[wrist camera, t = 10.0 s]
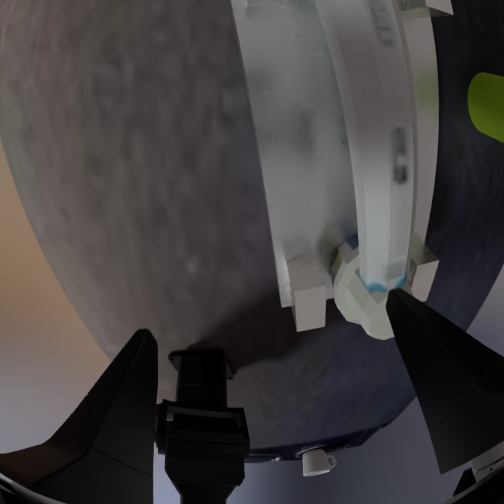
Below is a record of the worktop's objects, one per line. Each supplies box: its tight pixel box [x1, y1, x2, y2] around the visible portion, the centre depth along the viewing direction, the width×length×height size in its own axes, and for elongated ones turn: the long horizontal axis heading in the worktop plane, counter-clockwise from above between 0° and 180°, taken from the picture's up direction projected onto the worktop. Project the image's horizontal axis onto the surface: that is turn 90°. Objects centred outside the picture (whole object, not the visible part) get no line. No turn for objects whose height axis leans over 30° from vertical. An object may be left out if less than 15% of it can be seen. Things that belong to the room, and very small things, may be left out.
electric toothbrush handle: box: [314, 0, 418, 340], centre depth 12 cm, size 5×7×25 cm
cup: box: [303, 449, 336, 476], centre depth 63 cm, size 11×8×8 cm
